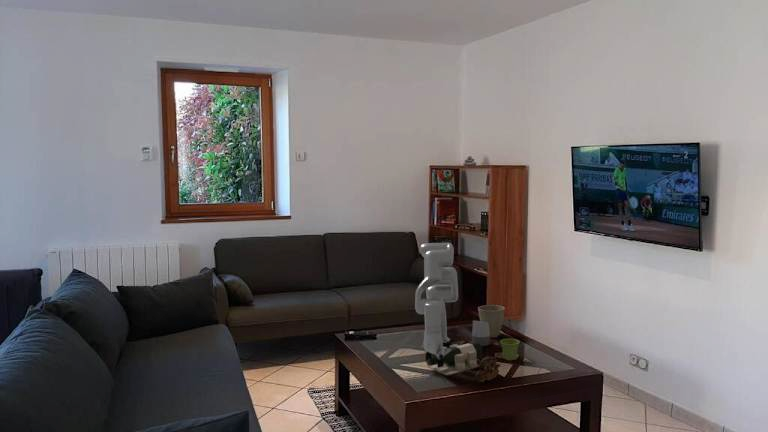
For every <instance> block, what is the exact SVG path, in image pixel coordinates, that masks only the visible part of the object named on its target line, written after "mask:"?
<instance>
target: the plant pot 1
mask: <svg viewBox="0 0 768 432" xmlns="http://www.w3.org/2000/svg"><path fill="white" fill-rule="evenodd" d="M477 311H478V317H479V321H481V322H487V323H488V325H489V332H490V338H498V337H499V336H500V333H501V330H502V327H503V323H504V318H505V317H504V316H505V307H504V306H502V305H495V304H490V305H489V304H487V305H486V304H485V305H481V306H478V307H477Z"/></svg>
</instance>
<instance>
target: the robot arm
mask: <svg viewBox="0 0 768 432" xmlns="http://www.w3.org/2000/svg"><path fill="white" fill-rule="evenodd" d="M419 250H420V254H421V256H422V257H423V268H424V270H423V274H424V276H423V277H424V279H423V280H422V281H421V282H420V283H419V285H418V286H417V288H416V290H415V294H414V296H415V297H414V298H415V299H414V304H415V305H414V307H415V309H414V310H415V311H416V313H417V314H418V315H424V333H423V342H422V345H423V350H424V354H425V362H426V361H427V360H428V359H429V358H433V356H432V355H436V357H438V359H437V366H438V367H443V366H444V356H445V353H446V351H445V350H444V348H443V347H444V344H443V343H446V344H448V343H450V342H449V341H451V339H450V337H448V334H447V333H448V332H447V330H448V329H447V327H448V326H447V311H446V304H445V303H455V302H457V301H458V299H459V284H458V283H459V282H458V272H457V270H456V268H454V267H453V264H454V254H455V252H454V251H455V250H454V245H453V244H452V242H430V243H429V242H425V243H423V244H421V245H420V247H419ZM424 291H425V295H426V298H422V294H423V293H424ZM447 342H448V343H447ZM439 354H441V355H440V356H439Z"/></svg>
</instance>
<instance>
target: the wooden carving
mask: <svg viewBox="0 0 768 432" xmlns="http://www.w3.org/2000/svg"><path fill="white" fill-rule="evenodd" d="M478 365H479V367H478V368H479V370H476V373H475V374H474V375H475V377H476V380H477V382H479V383H484V382H485V381H492V380H494V379H496V377H497V376H498V375H499V372H500V369H499V368H500V367H501V364H500V363H497V357H495V356H494V357H493V356H485V357H483V358H482V359H481V360H480V361H478ZM493 378H494V379H493ZM491 379H492V380H491Z"/></svg>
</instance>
